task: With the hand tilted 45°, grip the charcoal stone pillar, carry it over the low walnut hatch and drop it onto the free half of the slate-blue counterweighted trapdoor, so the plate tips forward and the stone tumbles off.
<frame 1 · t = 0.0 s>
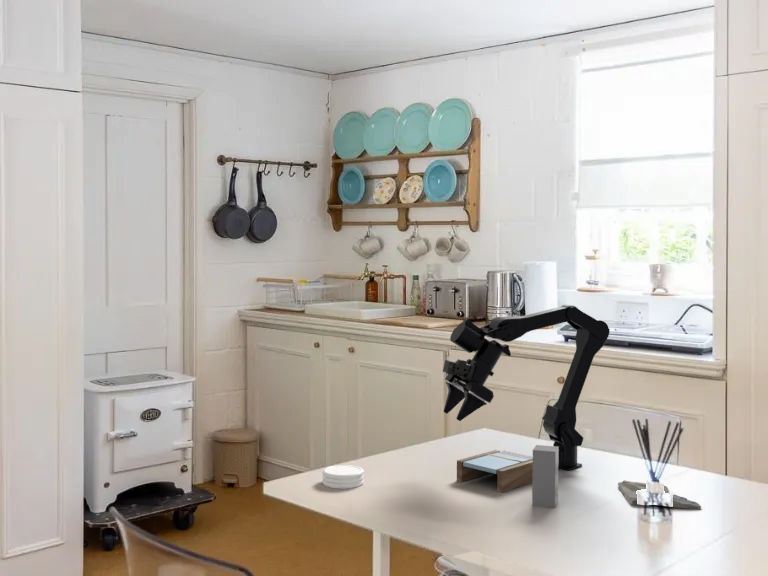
hand: (451, 416, 223), 15 cm above the table, tool tilted 35°, fingers open, 9 cm apart
fossil rock: (656, 500, 206), on the table
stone: (545, 503, 201), on the table
trapdoor: (500, 465, 220), point 4 cm above the table, hinge at 0.0°
hatch frame: (505, 478, 222), on the table
coaster: (343, 484, 218), on the table
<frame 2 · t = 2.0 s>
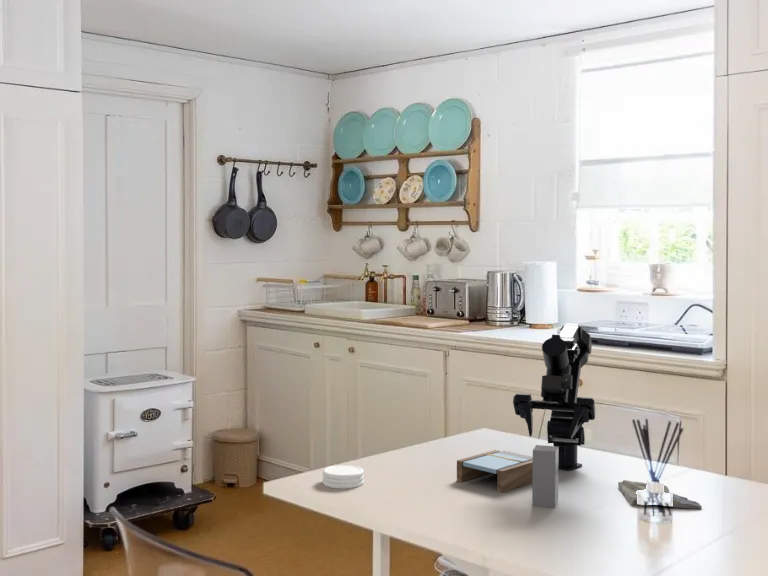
hand: (550, 436, 207), 13 cm above the table, tool tilted 45°, fingers open, 9 cm apart
nothing on the table moved.
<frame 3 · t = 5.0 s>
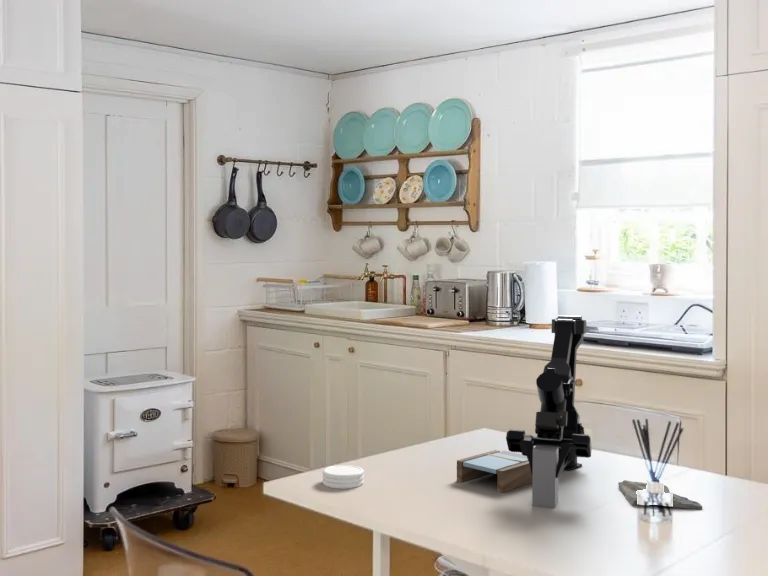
hand: (544, 475, 200), 7 cm above the table, tool tilted 45°, fingers closed on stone, 5 cm apart
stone: (545, 503, 201), on the table, touching gripper
everything else where it was.
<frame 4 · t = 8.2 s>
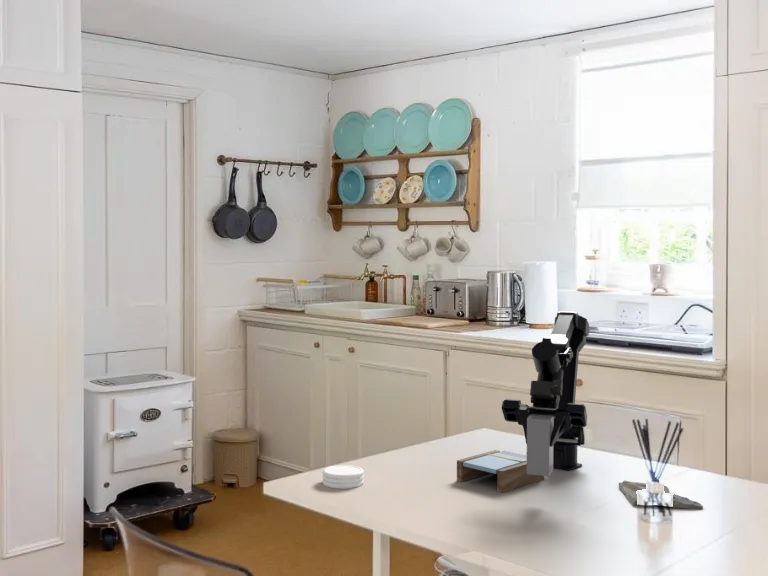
hand: (538, 444, 200), 13 cm above the table, tool tilted 45°, fingers closed on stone, 5 cm apart
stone: (539, 472, 202), point 7 cm above the table, touching gripper
everything else where it was.
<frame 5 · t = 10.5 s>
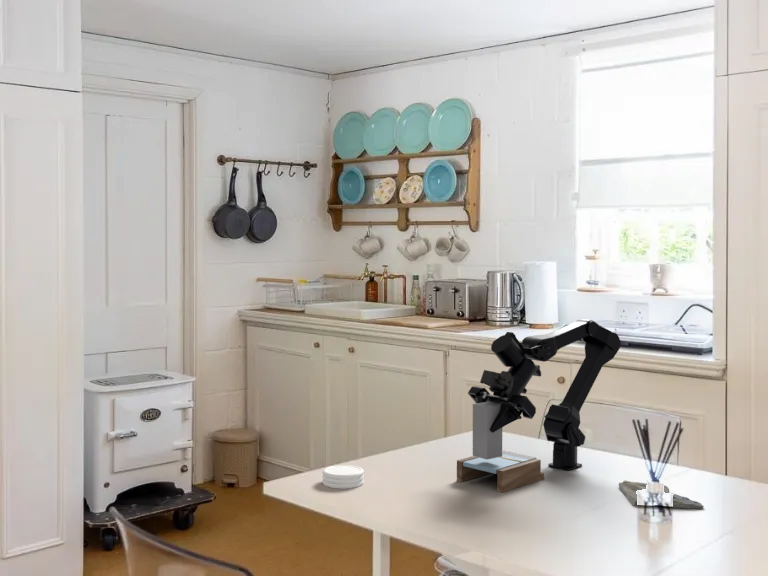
hand: (483, 429, 215), 13 cm above the table, tool tilted 45°, fingers closed on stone, 5 cm apart
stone: (487, 455, 216), point 7 cm above the table, touching gripper
everything else where it was.
when the fingers open (13 cm above the table, at t = 11.5 s): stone drops 4 cm, resting on trapdoor.
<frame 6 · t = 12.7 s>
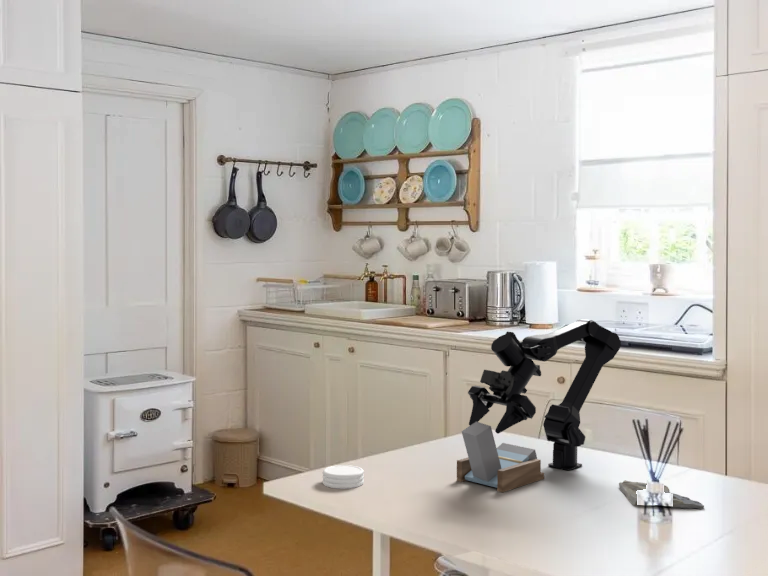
hand: (483, 429, 215), 14 cm above the table, tool tilted 45°, fingers open, 9 cm apart
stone: (487, 473, 217), point 2 cm above the table, tilted 21°, touching trapdoor
trapdoor: (501, 467, 221), point 3 cm above the table, hinge at -21.0°, touching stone
everything else where it was.
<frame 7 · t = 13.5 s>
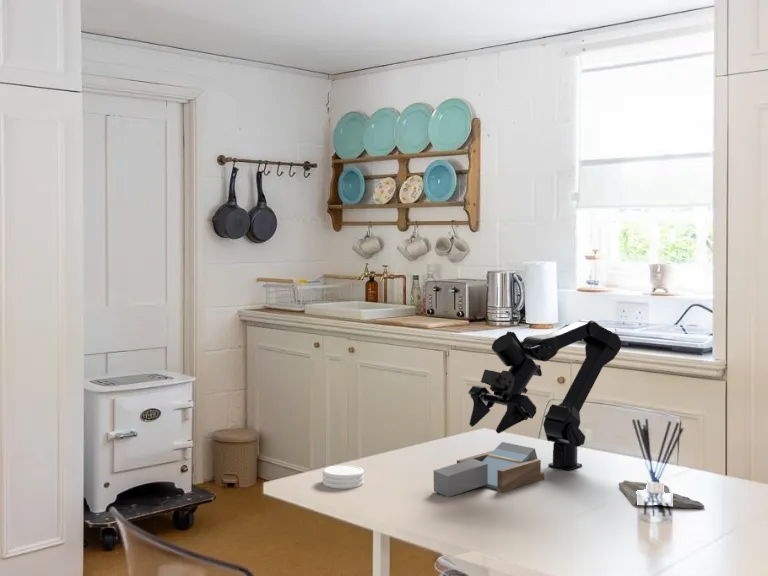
hand: (483, 428, 215), 14 cm above the table, tool tilted 45°, fingers open, 9 cm apart
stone: (480, 471, 215), point 3 cm above the table, tilted 94°, touching trapdoor
trapdoor: (501, 467, 221), point 3 cm above the table, hinge at -23.8°, touching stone
everything else where it was.
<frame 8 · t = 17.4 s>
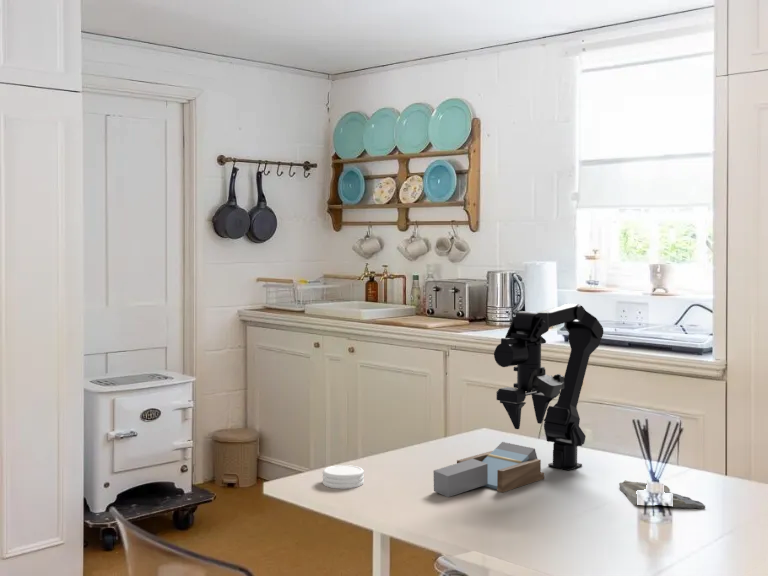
hand: (528, 426, 221), 13 cm above the table, tool pointing down, fingers open, 9 cm apart
nothing on the table moved.
at the end: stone point 3.5 cm above the table; the gripper is holding nothing; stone moved 19.5 cm from its start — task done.
